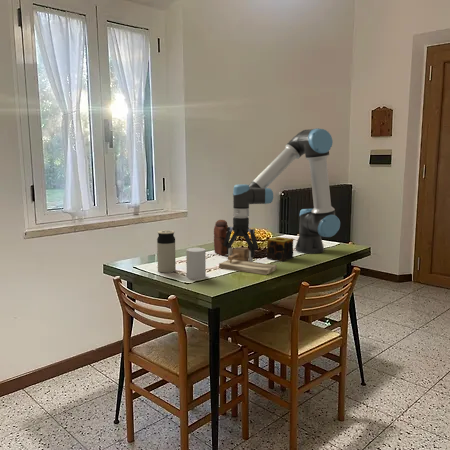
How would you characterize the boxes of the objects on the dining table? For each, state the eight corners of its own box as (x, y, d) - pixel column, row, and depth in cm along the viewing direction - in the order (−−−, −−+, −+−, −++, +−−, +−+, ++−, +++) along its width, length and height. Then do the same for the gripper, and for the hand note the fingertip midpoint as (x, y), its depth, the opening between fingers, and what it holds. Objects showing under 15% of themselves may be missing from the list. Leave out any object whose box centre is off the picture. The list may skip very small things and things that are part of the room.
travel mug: (178, 269, 207) (178, 230, 204) (170, 273, 200) (170, 233, 197) (162, 267, 210) (162, 229, 207) (154, 272, 203) (153, 232, 200)
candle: (283, 261, 222) (284, 241, 221) (265, 259, 229) (266, 239, 227) (293, 258, 231) (294, 238, 229) (276, 255, 237) (276, 236, 235)
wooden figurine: (231, 255, 236) (232, 220, 233) (220, 256, 233) (220, 221, 231) (222, 250, 247) (222, 217, 244) (211, 251, 244) (211, 218, 241)
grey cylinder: (191, 273, 200) (191, 247, 198) (208, 275, 197) (208, 248, 195) (183, 278, 193) (183, 250, 191) (200, 280, 190) (200, 252, 188)
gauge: (237, 261, 224) (237, 247, 223) (248, 262, 221) (248, 248, 220) (224, 267, 212) (224, 252, 211) (235, 268, 209) (235, 253, 208)
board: (230, 262, 220) (230, 258, 219) (276, 269, 208) (276, 265, 208) (219, 267, 210) (219, 263, 210) (266, 274, 199) (266, 270, 198)
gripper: (216, 216, 219) (216, 261, 222) (259, 219, 208) (258, 266, 211) (223, 214, 225) (223, 257, 229) (266, 217, 214) (265, 263, 218)
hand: (240, 262), depth 220 cm, fingers open, 10 cm apart
